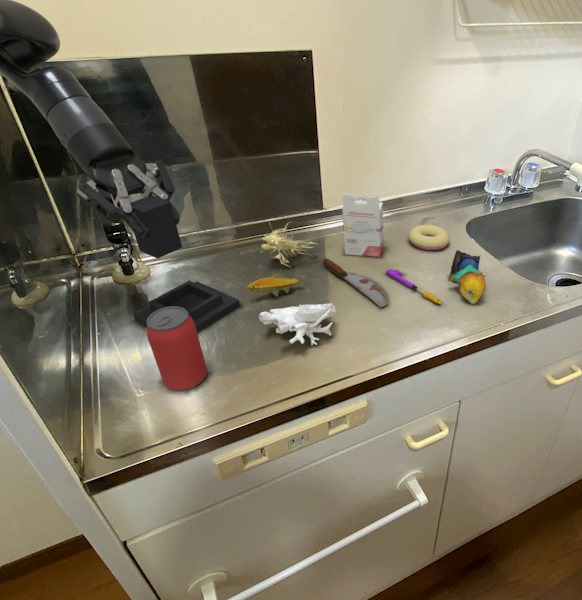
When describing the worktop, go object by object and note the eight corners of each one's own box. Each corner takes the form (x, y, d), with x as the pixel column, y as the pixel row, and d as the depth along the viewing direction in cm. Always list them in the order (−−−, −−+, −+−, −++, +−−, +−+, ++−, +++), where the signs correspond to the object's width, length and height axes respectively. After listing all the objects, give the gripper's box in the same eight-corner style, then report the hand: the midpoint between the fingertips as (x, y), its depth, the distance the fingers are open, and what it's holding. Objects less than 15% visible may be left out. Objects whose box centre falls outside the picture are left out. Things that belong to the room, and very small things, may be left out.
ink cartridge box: (383, 247, 113) (384, 189, 104) (380, 258, 109) (380, 197, 100) (348, 244, 113) (346, 186, 105) (343, 254, 109) (341, 194, 101)
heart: (348, 304, 83) (291, 322, 74) (348, 340, 85) (293, 361, 77) (306, 289, 90) (250, 303, 82) (307, 322, 92) (253, 339, 84)
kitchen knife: (399, 298, 94) (379, 304, 91) (398, 305, 95) (378, 312, 92) (340, 253, 107) (321, 257, 104) (339, 260, 108) (320, 264, 105)
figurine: (482, 307, 94) (486, 280, 90) (444, 301, 95) (447, 275, 91) (485, 278, 103) (489, 252, 99) (450, 273, 104) (453, 248, 100)
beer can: (154, 387, 73) (131, 326, 66) (180, 360, 78) (162, 300, 72) (192, 396, 72) (173, 334, 65) (216, 367, 77) (200, 307, 70)
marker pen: (384, 273, 102) (438, 306, 93) (385, 268, 102) (440, 301, 93) (393, 272, 104) (447, 304, 95) (394, 267, 104) (448, 299, 94)
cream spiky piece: (324, 271, 108) (333, 233, 106) (272, 273, 96) (280, 230, 93) (291, 254, 114) (299, 218, 111) (238, 255, 102) (245, 214, 99)
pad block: (157, 259, 74) (143, 211, 69) (139, 250, 76) (124, 204, 71) (182, 247, 77) (170, 201, 73) (164, 239, 79) (151, 194, 75)
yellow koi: (247, 301, 91) (247, 279, 89) (244, 296, 92) (244, 273, 90) (307, 293, 97) (309, 272, 95) (303, 289, 99) (305, 267, 97)
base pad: (178, 344, 81) (173, 328, 80) (135, 321, 86) (129, 306, 84) (240, 306, 91) (237, 290, 89) (198, 287, 96) (194, 272, 94)
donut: (422, 239, 122) (401, 247, 115) (422, 221, 120) (400, 228, 113) (456, 245, 116) (435, 254, 109) (456, 226, 114) (436, 234, 107)
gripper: (43, 132, 64) (124, 236, 66) (139, 112, 74) (207, 202, 76) (38, 163, 69) (113, 258, 71) (129, 140, 79) (193, 224, 81)
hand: (162, 229), depth 73 cm, fingers closed on pad block, 4 cm apart
